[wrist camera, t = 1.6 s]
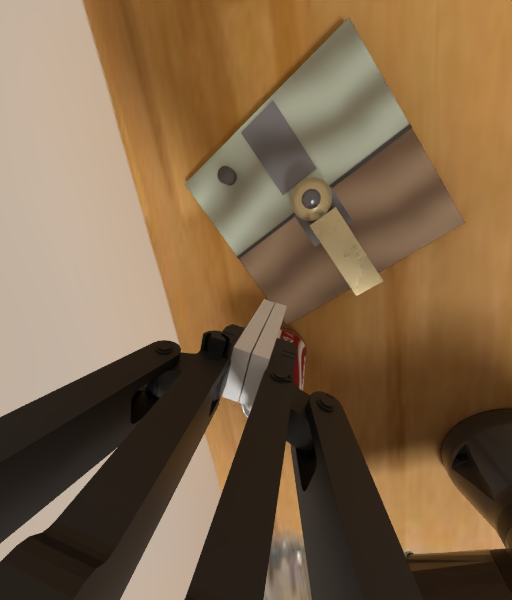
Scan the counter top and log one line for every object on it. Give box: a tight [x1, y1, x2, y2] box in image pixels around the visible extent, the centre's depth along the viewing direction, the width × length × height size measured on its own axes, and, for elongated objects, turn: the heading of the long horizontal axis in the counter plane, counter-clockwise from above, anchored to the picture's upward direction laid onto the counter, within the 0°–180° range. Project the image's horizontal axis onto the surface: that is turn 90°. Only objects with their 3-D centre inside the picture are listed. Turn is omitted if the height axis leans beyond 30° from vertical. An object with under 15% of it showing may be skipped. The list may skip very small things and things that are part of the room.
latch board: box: [185, 18, 465, 325], centre depth 27 cm, size 22×22×3 cm
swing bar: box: [291, 177, 383, 296], centre depth 26 cm, size 13×4×4 cm, turn 38°
